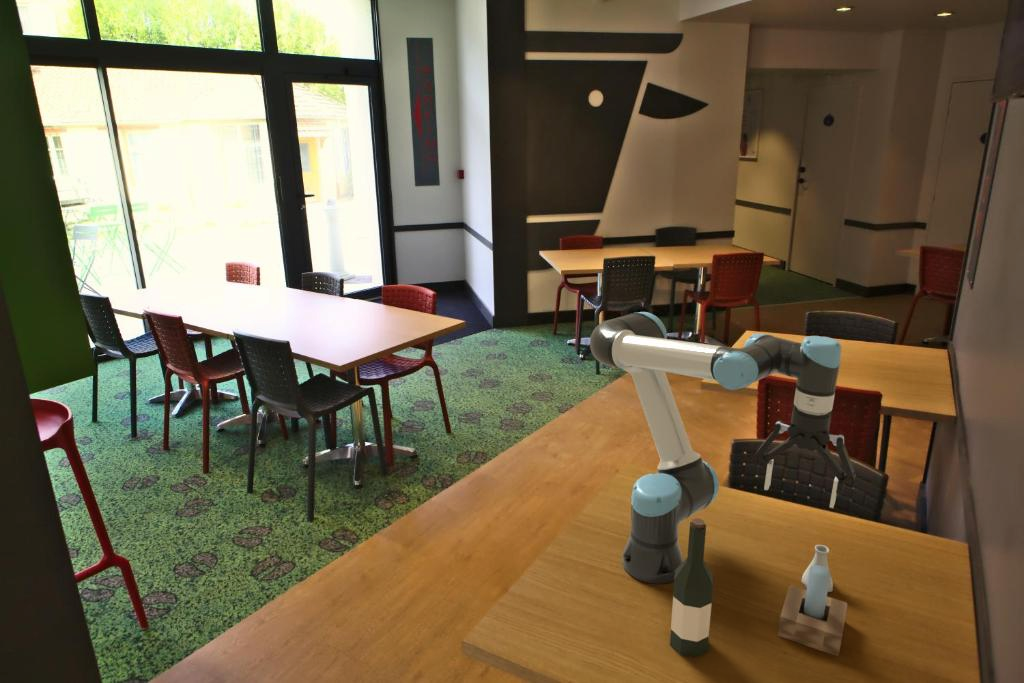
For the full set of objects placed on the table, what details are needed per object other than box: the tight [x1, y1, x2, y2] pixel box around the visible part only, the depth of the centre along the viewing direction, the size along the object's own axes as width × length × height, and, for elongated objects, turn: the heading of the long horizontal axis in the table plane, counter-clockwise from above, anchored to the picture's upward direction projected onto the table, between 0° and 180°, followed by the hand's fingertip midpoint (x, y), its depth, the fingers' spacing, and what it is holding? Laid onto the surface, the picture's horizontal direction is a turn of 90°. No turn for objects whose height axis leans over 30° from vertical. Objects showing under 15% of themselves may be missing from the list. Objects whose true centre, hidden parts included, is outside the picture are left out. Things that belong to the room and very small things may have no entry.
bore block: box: [777, 585, 848, 657], centre depth 142 cm, size 12×12×5 cm
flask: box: [800, 544, 834, 593], centre depth 156 cm, size 7×7×10 cm
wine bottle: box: [669, 518, 714, 659], centre depth 135 cm, size 8×8×30 cm
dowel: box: [803, 565, 831, 621], centre depth 140 cm, size 4×4×14 cm
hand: (798, 496), depth 144 cm, fingers open, 13 cm apart
